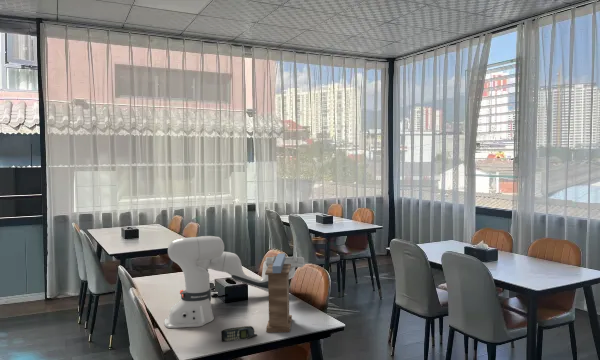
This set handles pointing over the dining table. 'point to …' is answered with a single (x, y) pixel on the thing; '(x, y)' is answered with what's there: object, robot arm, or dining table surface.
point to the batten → (279, 263)
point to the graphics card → (213, 290)
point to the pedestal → (278, 300)
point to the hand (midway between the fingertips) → (284, 257)
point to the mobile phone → (237, 333)
